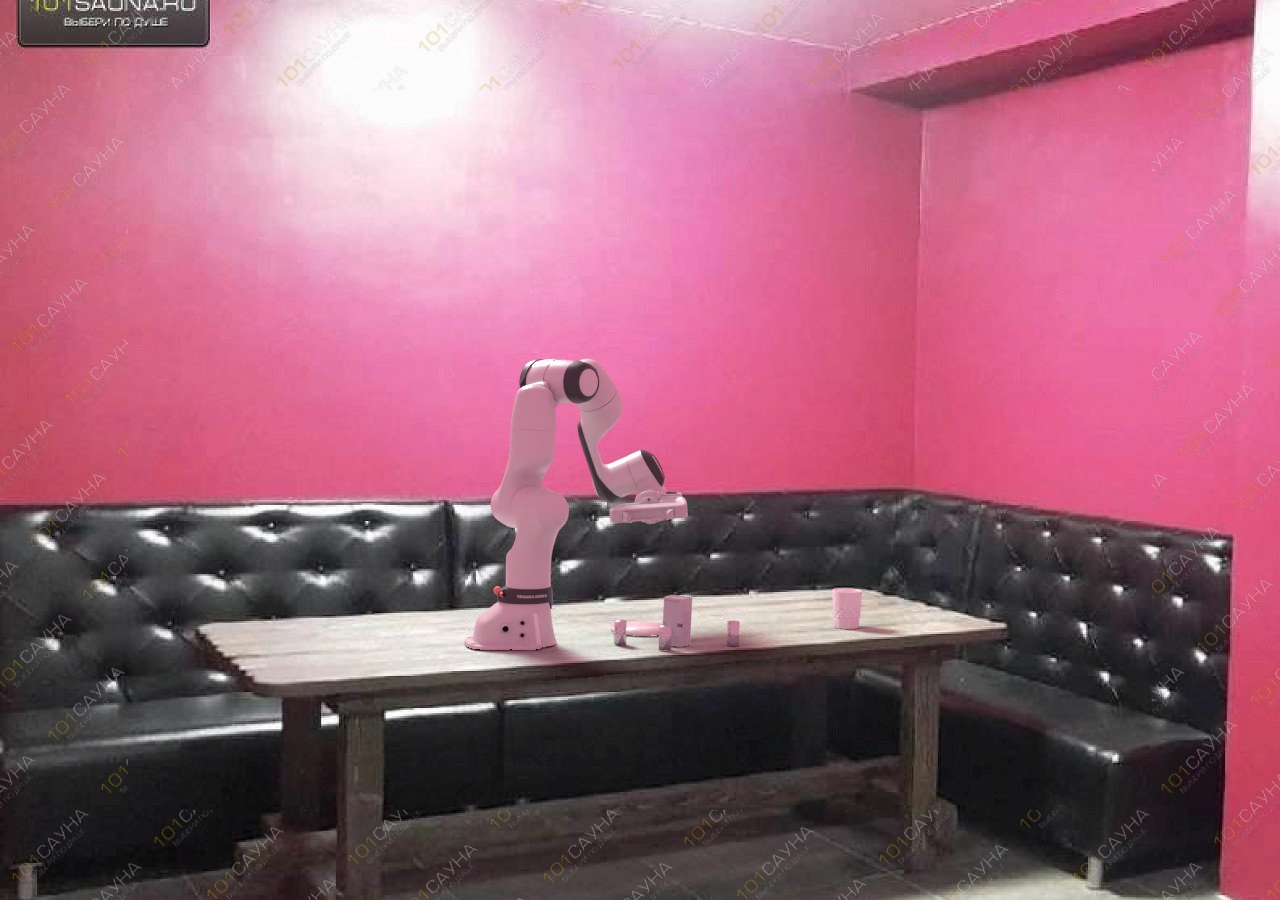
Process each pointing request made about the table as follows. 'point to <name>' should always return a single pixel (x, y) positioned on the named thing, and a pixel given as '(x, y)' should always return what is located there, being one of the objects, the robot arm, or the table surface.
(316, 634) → the table surface
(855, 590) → the pink cup
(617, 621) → the posts
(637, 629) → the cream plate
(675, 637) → the skincare box
